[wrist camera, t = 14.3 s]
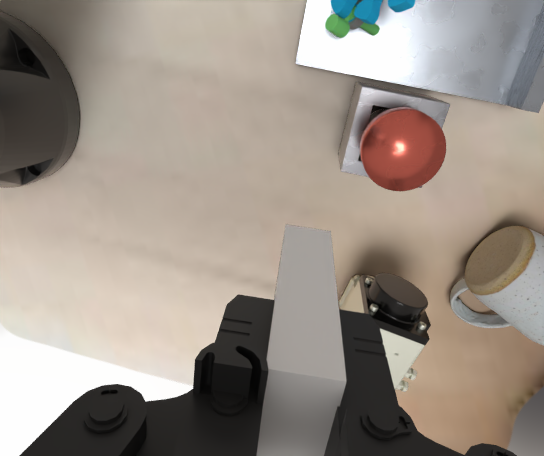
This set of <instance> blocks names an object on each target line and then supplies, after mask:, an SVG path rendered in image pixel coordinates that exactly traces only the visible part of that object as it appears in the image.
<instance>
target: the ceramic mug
mask: <svg viewBox="0 0 544 456" xmlns="http://www.w3.org/2000/svg"><path fill="white" fill-rule="evenodd" d="M467 289H469V290H470V291H471V292H472V293H473V294H474V295H475V297H476V298H477V299H479V300H480V301H481V302H482V303H483V304H485V305H486V306H487V307H489V308H490V309H491V310H493V311H494V312H496V313H497V314H492V315H489V314H479V313H476V312H473V311H471V310H470V309H469V308H467V307H466V306H465V305H464V304H463V303H462V302H461V300H460V299H458V298H457V296H458V295H460V294H461V293H462V292H464V291H466V290H467ZM450 304H451V308H452V310H453V312H454V313H455V314H456V315H457V316H458V317H459V318H460V319H462V320H463V321H465V322H467V323H469V324H471V325H474V326H478V327H483V328H502V327H507V326H513V327H515V328H516V329H517V330H519V331H520V332H521V333H522V334H524V335H525V336H526V337H527V338H529V339H530V340H532V341H534V342H536V343H539V344H541V345H544V236H543V235H541V234H539V233H537V232H535V231H533V230H531V229H529V228H526V227H523V226H509V227H505V228H502V229H500V230H498V231H496V232H494V233H492V234H491V235H489V236H488V237H487V238H485V239H484V240H483V241H482V242H481V243H480V244H479V245H478V246H477V247H476V249H475V250H474V251H473V253H472V254H471V256H470V258H469V260H468V262H467V265H466V268H465V278H463V279H461V280H459V281H458V282H457V283H456V284H455V285H454V286H453V288H452V290H451V295H450Z"/></svg>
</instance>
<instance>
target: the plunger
mask: <svg viewBox="0 0 544 456" xmlns="http://www.w3.org/2000/svg"><path fill="white" fill-rule="evenodd" d="M445 153H446V140H445V136H444V133H443V131H442V129H441V127H440V126H439V124H438V123H437V122H436V121H435V120H434V119H433V118H431V117H430V116H428V115H426V114H425V113H423V112H421V111H419V110H417V109H414V108H409V107H397V108H392V109H380V110H377V111H375V112H374V113H372V114H371V115H370V117H369V121H368V125H367V127H366V129H365V130H364V133H363V135H362V138H361V142H360V156H361V160H362V163H363V166H364V169H365V171H366V173H367V174H368V176H369V177H370V178H371V179H372V180H373V181H374V182H375V183H376V184H377V185H379V186H381V187H383V188H385V189H388V190H393V191H407V190H412V189H415V188H418V187H420V186H422V185H423V184H425V183H427V182H428V181H429V180H430V179H432V178H433V177H434V175H435V174H436V173H437V172H438V170H439V169H440V167H441V165H442V163H443V161H444V158H445Z"/></svg>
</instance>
